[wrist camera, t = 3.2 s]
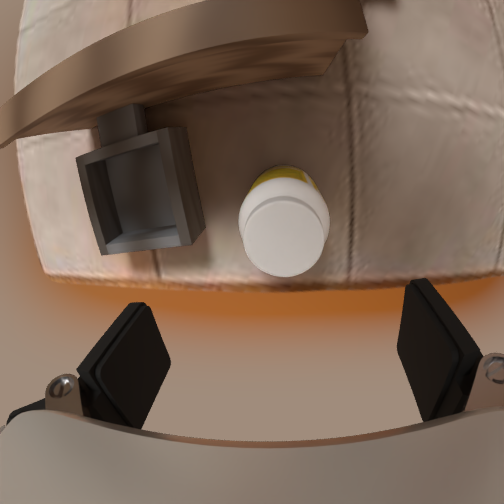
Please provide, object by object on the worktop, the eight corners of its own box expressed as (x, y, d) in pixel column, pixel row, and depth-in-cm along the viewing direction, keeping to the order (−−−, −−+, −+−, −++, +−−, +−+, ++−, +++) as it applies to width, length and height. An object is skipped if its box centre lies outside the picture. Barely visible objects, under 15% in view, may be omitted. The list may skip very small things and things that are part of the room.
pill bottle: (238, 205, 27) (208, 252, 17) (275, 150, 25) (268, 163, 15) (292, 241, 28) (294, 306, 18) (331, 190, 25) (359, 230, 15)
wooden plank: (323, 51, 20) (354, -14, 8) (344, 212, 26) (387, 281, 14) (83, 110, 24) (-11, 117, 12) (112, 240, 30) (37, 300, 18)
